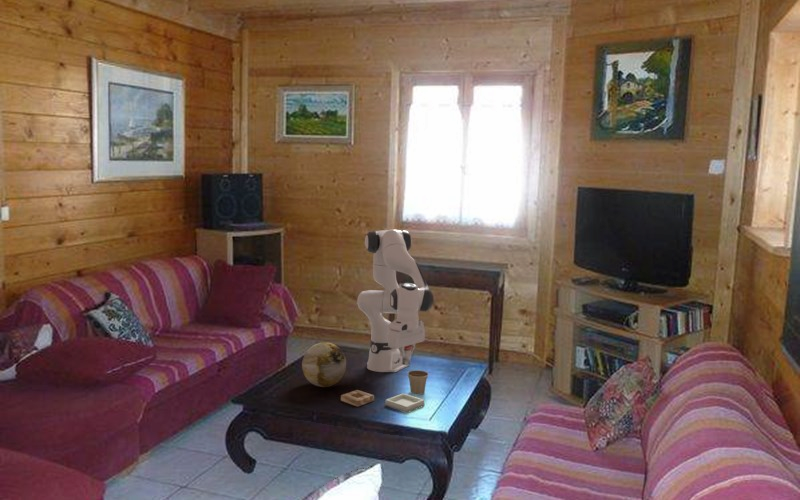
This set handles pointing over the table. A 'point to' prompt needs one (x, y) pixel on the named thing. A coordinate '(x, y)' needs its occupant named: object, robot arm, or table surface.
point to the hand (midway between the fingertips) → (406, 355)
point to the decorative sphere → (324, 364)
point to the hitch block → (357, 398)
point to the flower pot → (417, 381)
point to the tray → (404, 402)
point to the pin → (407, 355)
